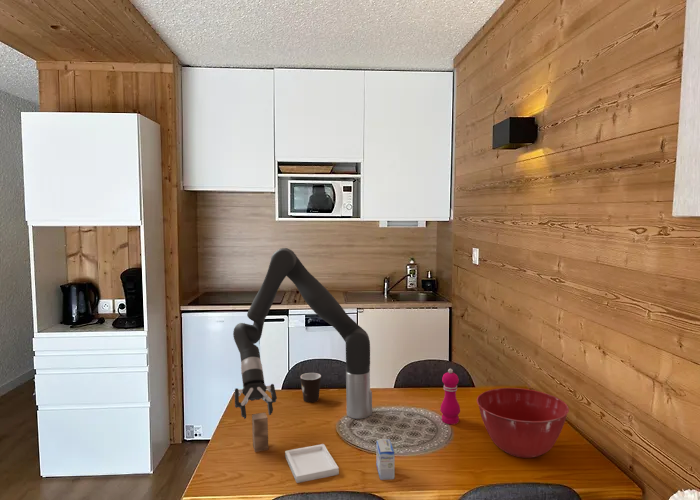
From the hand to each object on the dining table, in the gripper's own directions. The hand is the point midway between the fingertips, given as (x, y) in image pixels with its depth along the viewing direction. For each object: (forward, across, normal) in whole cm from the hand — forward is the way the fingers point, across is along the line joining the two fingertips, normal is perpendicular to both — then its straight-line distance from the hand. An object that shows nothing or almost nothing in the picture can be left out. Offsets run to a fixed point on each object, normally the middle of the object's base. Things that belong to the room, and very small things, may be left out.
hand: (257, 415), depth 164 cm
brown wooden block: (+9, 0, +4) cm, 10 cm away
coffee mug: (-16, +27, +29) cm, 43 cm away
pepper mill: (+13, +70, +1) cm, 71 cm away
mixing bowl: (+31, +81, -18) cm, 89 cm away
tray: (+21, +13, -8) cm, 26 cm away
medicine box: (+30, +33, -16) cm, 48 cm away
